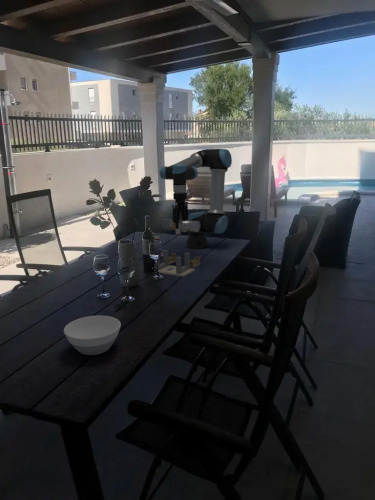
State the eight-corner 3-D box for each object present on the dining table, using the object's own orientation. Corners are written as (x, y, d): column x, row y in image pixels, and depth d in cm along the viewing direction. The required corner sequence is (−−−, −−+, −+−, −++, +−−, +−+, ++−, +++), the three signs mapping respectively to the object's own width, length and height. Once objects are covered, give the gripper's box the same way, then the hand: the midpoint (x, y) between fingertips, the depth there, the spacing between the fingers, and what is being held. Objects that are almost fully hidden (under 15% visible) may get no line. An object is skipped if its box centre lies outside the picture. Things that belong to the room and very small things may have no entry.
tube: (162, 229, 249) (161, 219, 248) (167, 227, 254) (167, 217, 253) (195, 233, 238) (194, 222, 237) (200, 230, 243) (200, 220, 242)
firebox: (149, 271, 239) (149, 254, 237) (161, 265, 249) (161, 249, 247) (183, 276, 228) (183, 258, 226) (195, 270, 238) (194, 253, 236)
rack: (164, 264, 252) (164, 256, 251) (172, 260, 260) (172, 253, 259) (192, 268, 243) (192, 260, 242) (200, 264, 251) (200, 256, 250)
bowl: (133, 346, 153) (132, 324, 151) (87, 368, 139) (85, 344, 137) (99, 331, 165) (98, 311, 163) (54, 350, 151) (52, 328, 149)
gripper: (182, 190, 251) (183, 229, 256) (165, 194, 235) (166, 235, 241) (194, 190, 247) (194, 230, 253) (176, 194, 231) (178, 236, 237)
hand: (181, 232), depth 247 cm, fingers closed on tube, 6 cm apart
